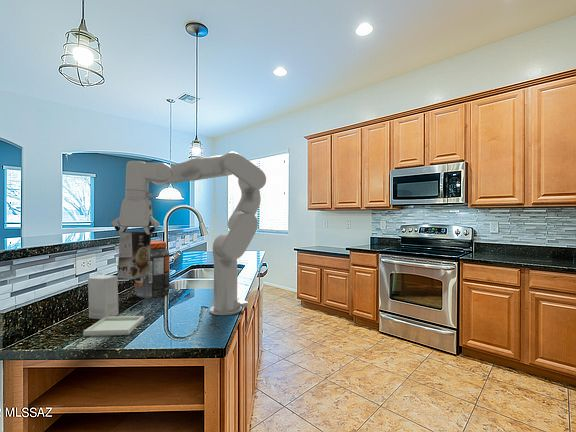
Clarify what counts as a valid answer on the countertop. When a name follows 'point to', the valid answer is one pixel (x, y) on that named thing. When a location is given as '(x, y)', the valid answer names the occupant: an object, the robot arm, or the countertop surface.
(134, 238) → the coffee box
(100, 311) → the skincare box
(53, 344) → the countertop surface
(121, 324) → the tray
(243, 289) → the countertop surface
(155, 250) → the supplement tub
